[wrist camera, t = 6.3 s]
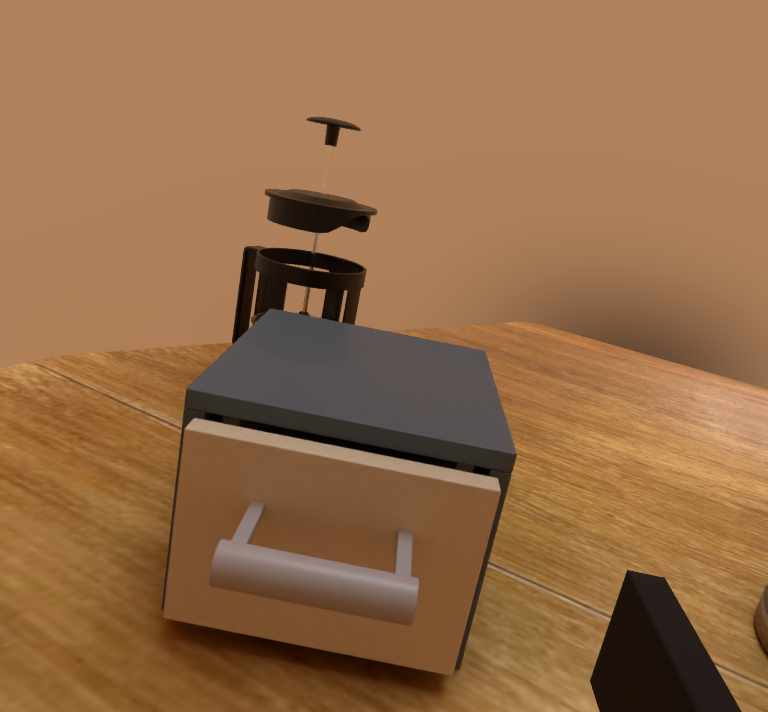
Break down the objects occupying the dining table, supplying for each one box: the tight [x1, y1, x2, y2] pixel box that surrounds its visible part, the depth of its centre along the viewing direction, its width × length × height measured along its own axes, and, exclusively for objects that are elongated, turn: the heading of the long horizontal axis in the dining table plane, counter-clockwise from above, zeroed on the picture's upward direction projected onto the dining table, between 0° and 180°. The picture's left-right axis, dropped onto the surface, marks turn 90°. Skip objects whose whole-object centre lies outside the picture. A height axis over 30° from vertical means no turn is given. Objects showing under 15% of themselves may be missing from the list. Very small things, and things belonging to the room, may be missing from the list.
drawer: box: [163, 416, 501, 676], centre depth 33 cm, size 19×13×9 cm, turn 179°
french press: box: [232, 117, 377, 344], centre depth 56 cm, size 12×9×23 cm
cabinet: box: [162, 308, 517, 669], centre depth 37 cm, size 16×14×11 cm
